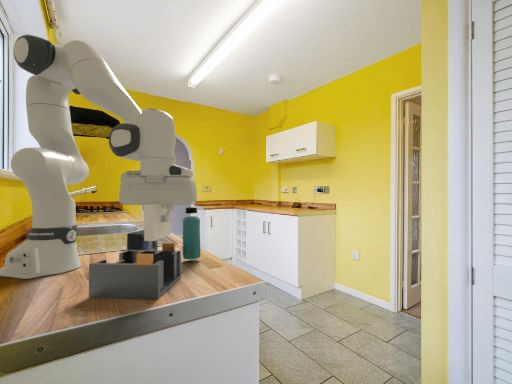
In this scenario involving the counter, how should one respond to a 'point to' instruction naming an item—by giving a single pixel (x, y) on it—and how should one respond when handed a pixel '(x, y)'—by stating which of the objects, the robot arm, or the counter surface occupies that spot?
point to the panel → (155, 222)
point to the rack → (136, 274)
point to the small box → (140, 242)
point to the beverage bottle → (191, 235)
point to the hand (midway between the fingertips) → (158, 221)
